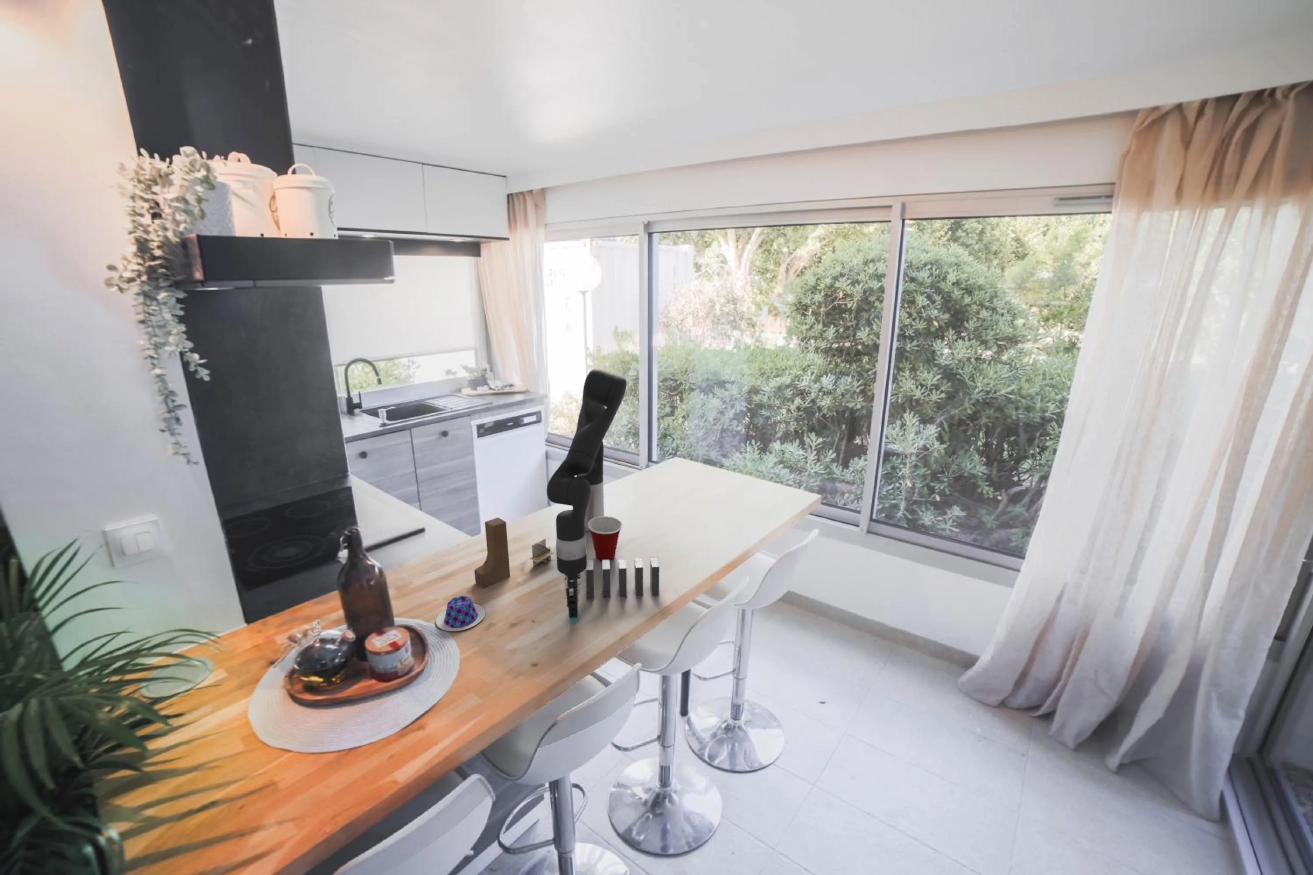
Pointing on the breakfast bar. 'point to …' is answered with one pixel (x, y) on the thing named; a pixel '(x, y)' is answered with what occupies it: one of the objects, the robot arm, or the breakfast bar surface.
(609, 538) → the plastic cup
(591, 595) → the domino
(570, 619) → the domino
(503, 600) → the breakfast bar surface
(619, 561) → the domino
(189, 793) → the breakfast bar surface
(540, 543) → the architectural model
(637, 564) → the domino
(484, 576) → the wooden block
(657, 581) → the domino
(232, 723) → the breakfast bar surface
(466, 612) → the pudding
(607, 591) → the domino
